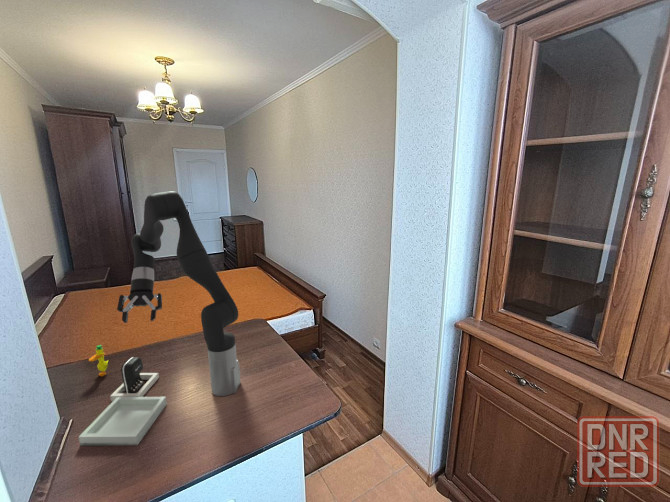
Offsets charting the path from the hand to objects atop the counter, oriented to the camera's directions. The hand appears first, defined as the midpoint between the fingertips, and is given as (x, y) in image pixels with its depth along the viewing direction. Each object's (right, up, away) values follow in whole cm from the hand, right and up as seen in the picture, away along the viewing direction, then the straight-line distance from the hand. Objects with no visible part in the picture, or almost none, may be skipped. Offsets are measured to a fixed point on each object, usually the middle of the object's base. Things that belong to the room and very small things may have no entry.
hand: (138, 321), depth 113 cm
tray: (+9, -27, -20) cm, 35 cm away
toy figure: (-16, -21, +3) cm, 27 cm away
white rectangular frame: (+2, -23, -4) cm, 24 cm away
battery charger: (+2, -23, -4) cm, 24 cm away
